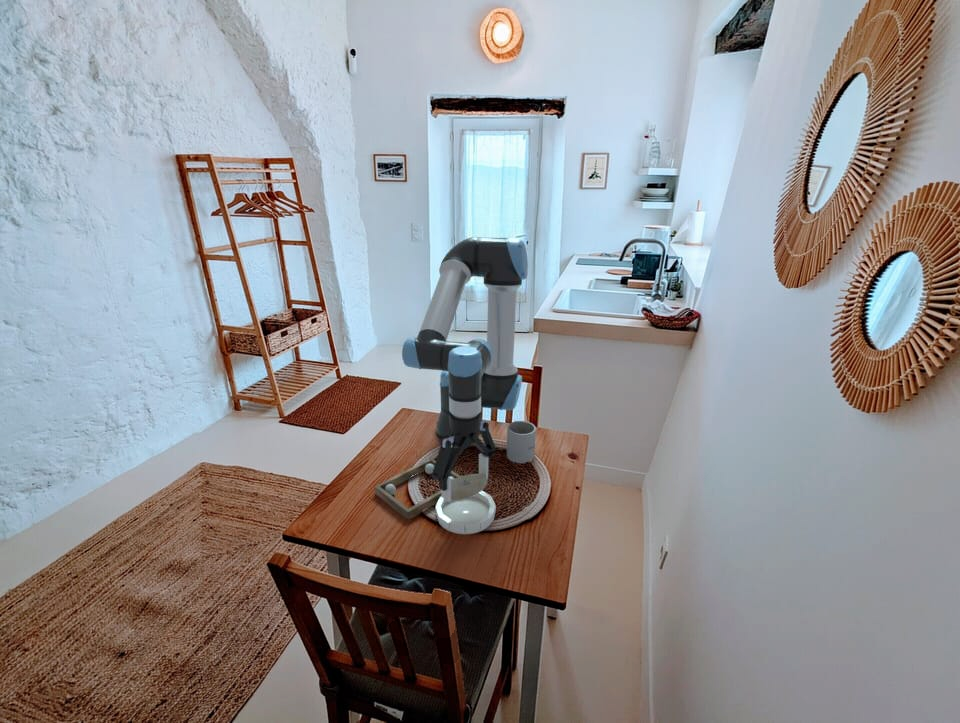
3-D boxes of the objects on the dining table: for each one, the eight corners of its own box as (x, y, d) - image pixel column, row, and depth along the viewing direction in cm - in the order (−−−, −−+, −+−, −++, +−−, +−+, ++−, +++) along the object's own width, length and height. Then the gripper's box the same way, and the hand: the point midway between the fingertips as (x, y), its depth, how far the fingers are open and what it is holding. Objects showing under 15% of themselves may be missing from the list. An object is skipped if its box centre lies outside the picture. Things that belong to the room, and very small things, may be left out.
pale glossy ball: (430, 468, 141) (430, 460, 139) (437, 473, 139) (436, 464, 137) (422, 473, 139) (422, 464, 137) (429, 477, 137) (428, 468, 135)
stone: (494, 483, 120) (458, 489, 111) (483, 500, 122) (447, 507, 114) (482, 466, 123) (446, 471, 115) (472, 483, 126) (436, 489, 118)
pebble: (391, 489, 131) (391, 480, 130) (398, 494, 129) (397, 485, 128) (382, 494, 129) (382, 484, 128) (389, 499, 127) (388, 489, 126)
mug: (524, 466, 142) (525, 437, 138) (501, 456, 147) (502, 428, 143) (545, 449, 151) (547, 421, 147) (522, 440, 156) (524, 413, 152)
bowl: (466, 488, 132) (466, 480, 131) (506, 514, 122) (506, 505, 121) (424, 513, 122) (424, 505, 121) (464, 543, 112) (464, 535, 111)
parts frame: (431, 464, 142) (431, 457, 142) (465, 486, 133) (465, 478, 132) (375, 494, 129) (374, 486, 128) (408, 520, 119) (407, 512, 119)
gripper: (489, 391, 122) (488, 462, 129) (414, 423, 105) (418, 502, 113) (511, 400, 117) (508, 473, 124) (435, 436, 100) (438, 517, 108)
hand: (465, 487), depth 119 cm, fingers closed on stone, 12 cm apart
